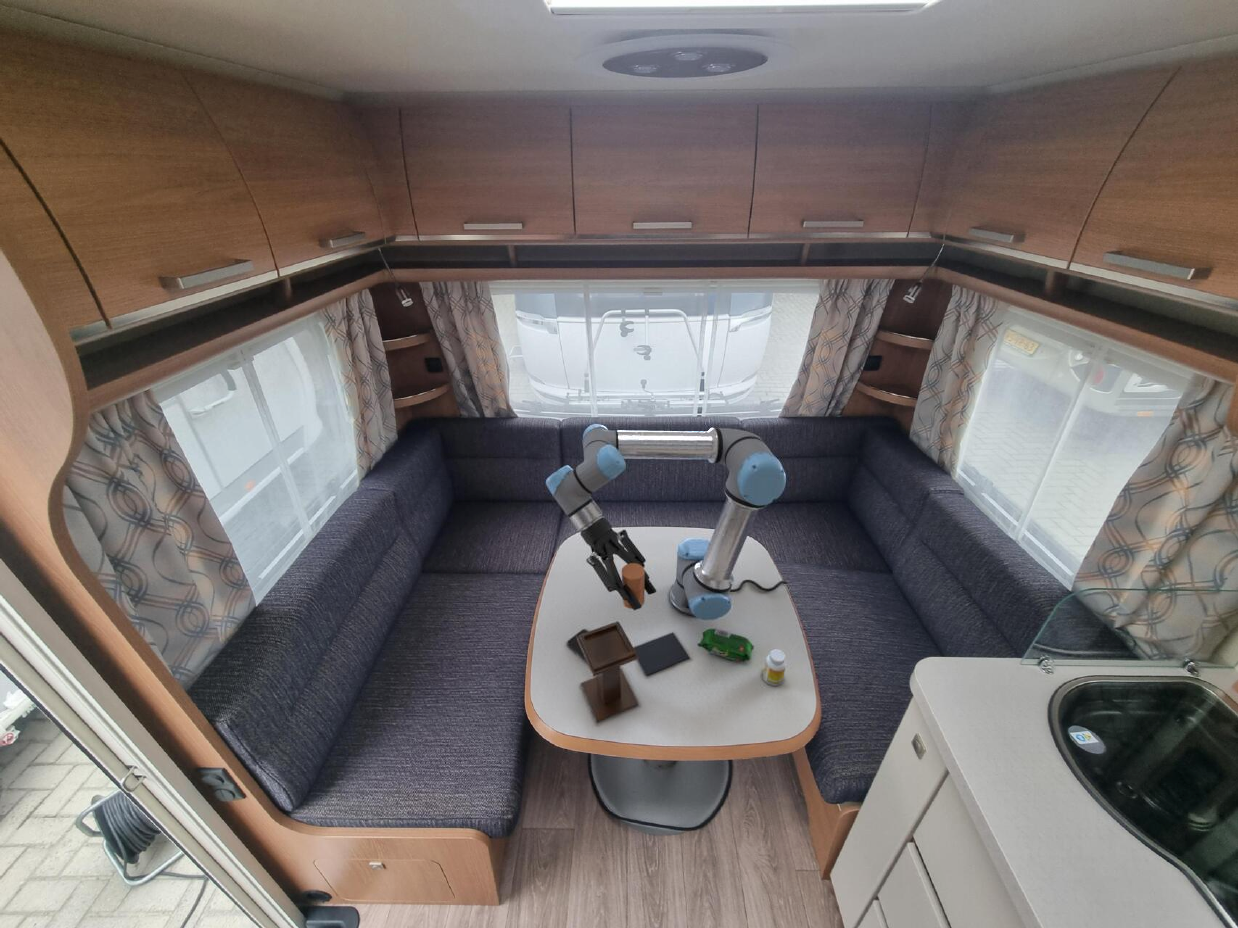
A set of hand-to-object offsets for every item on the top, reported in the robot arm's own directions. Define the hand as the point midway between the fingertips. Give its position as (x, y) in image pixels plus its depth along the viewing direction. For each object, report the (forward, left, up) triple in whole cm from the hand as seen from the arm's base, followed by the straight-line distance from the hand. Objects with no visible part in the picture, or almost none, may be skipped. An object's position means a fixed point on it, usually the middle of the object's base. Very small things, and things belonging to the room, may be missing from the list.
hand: (645, 600), depth 120 cm
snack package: (-27, 0, -32) cm, 42 cm away
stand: (+10, -1, -32) cm, 34 cm away
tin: (+2, -3, -2) cm, 4 cm away
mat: (-9, -7, -32) cm, 34 cm away
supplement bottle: (-34, +13, -32) cm, 48 cm away
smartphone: (+9, -16, -32) cm, 37 cm away
